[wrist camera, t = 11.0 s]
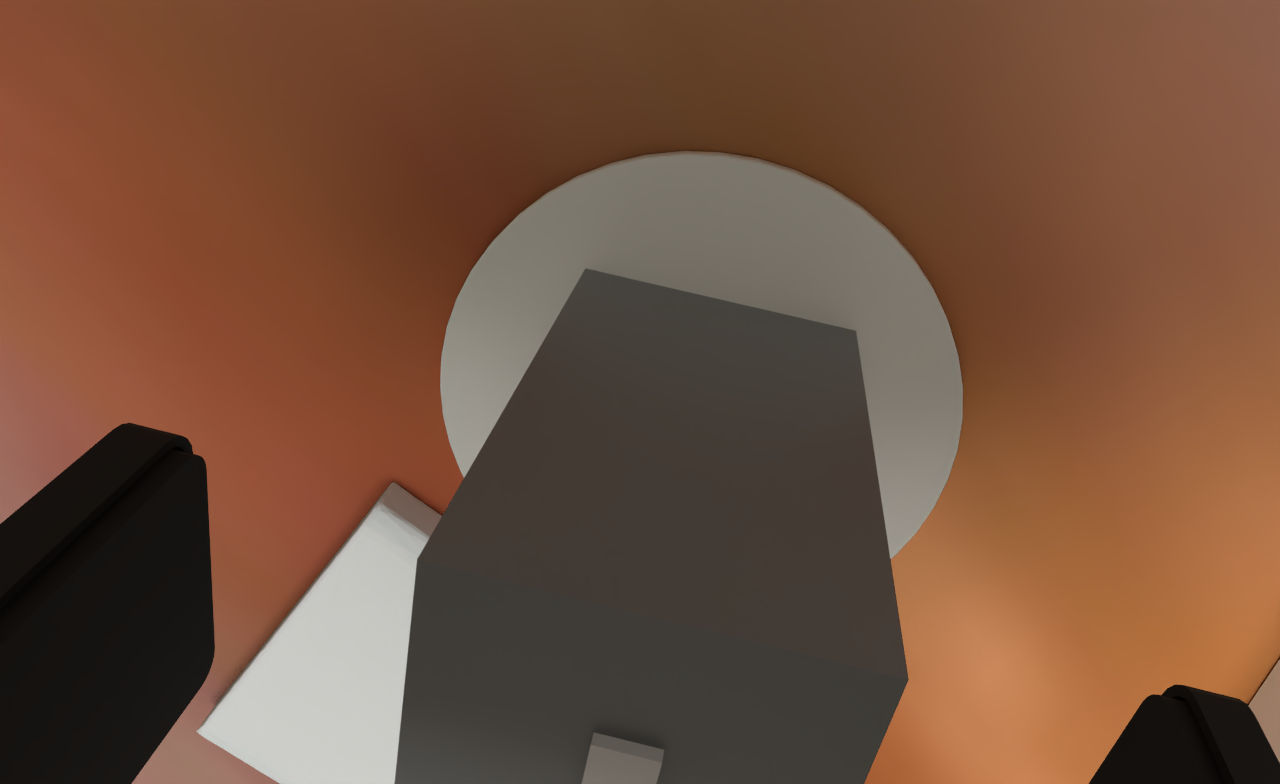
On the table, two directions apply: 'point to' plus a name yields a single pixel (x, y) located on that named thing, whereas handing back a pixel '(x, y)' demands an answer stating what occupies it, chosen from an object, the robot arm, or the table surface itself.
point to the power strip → (1269, 708)
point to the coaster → (720, 296)
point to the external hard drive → (335, 662)
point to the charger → (661, 561)
